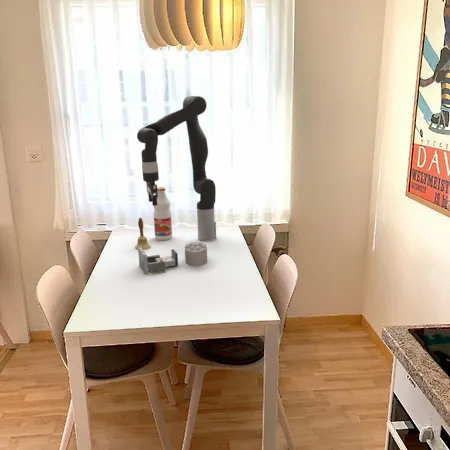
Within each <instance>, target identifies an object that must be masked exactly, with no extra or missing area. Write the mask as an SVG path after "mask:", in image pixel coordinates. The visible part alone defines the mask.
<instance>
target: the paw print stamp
mask: <svg viewBox="0 0 450 450" xmlns="http://www.w3.org/2000/svg"><path fill="white" fill-rule="evenodd" d="M184 258H185V259H184V262H185V264H186V265H188V266H189V267H200V266H203V265H205V264H207V263H208V246H207V243H205V242H202V241H191V242H189V243H186V245H185V246H184Z"/></svg>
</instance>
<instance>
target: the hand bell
mask: <svg viewBox="0 0 450 450" xmlns="http://www.w3.org/2000/svg"><path fill="white" fill-rule="evenodd" d="M137 225H138V229H139V235H140V236H138V237H137V242H136V245H135V246H134V249H135V250H137V251H138V247H142V249H143V250H144V251H145V250H149V249H151V248H152V245H150V243H149V242H148V239H147V237H146V236H145V235H144V221H143V218H142V217H139V218H138V223H137Z"/></svg>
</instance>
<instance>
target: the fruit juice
mask: <svg viewBox="0 0 450 450" xmlns="http://www.w3.org/2000/svg"><path fill="white" fill-rule="evenodd" d="M157 192H158V197H157V205H156V206H153V209H154V211H153V226H154V238H155V240H158V241H168V240H170V239H172V238H173V229H172V225H173V224H172V211H171V202H170V200H169V197H168V196H167V194H166V187H164V186H157Z"/></svg>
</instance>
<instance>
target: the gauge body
mask: <svg viewBox="0 0 450 450" xmlns="http://www.w3.org/2000/svg"><path fill="white" fill-rule="evenodd" d="M137 251H138V263H139V264H138V265H139V267H140V269H141V271H142V272H143V274H144V275H149V274H150V273H151V274H152V275H157V273H158V274H163V273H164V274H165V273H166V267H165V262H164V263H163V262H162V261H159V262H155V258H161V255H160V254H155V255H148V254H147V253H146V252H145V250H143V249H142V247H138V250H137ZM151 274H150V275H151Z"/></svg>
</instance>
